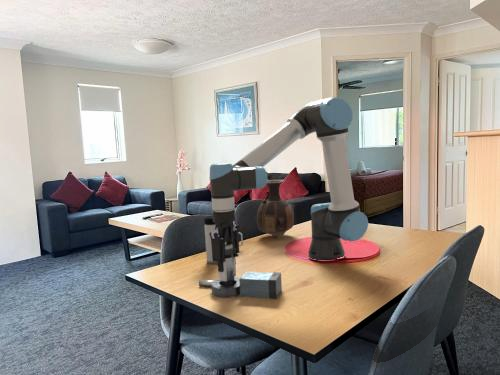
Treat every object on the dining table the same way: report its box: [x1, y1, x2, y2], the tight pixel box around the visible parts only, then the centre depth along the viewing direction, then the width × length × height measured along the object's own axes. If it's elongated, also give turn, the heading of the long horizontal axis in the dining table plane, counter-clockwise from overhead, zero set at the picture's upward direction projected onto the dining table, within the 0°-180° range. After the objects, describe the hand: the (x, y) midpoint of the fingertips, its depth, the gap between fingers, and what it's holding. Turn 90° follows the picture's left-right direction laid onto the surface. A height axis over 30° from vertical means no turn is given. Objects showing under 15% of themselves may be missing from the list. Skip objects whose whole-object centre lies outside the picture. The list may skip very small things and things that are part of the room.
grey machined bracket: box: [198, 270, 283, 300], centre depth 127 cm, size 30×11×6 cm, turn 72°
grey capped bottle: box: [221, 243, 236, 286], centre depth 127 cm, size 5×5×16 cm
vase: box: [256, 179, 295, 238], centre depth 198 cm, size 23×19×30 cm
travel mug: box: [203, 215, 218, 265], centre depth 161 cm, size 6×7×20 cm
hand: (227, 277), depth 127 cm, fingers closed on grey capped bottle, 4 cm apart
